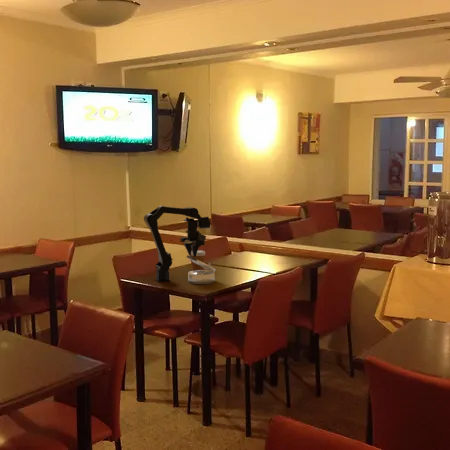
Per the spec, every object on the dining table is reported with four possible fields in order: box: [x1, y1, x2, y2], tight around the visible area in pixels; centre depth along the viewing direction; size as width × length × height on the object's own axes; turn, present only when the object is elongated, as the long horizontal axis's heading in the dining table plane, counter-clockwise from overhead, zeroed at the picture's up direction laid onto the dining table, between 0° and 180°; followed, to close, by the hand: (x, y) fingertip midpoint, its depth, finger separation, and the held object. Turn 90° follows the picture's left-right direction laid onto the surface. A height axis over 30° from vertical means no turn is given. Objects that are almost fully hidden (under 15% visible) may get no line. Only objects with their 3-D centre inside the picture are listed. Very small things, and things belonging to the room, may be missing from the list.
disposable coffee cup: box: [190, 249, 206, 271], centre depth 359 cm, size 10×10×12 cm
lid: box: [186, 254, 216, 273], centre depth 328 cm, size 18×15×3 cm
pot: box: [187, 269, 216, 285], centre depth 329 cm, size 15×15×5 cm
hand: (192, 255), depth 337 cm, fingers open, 5 cm apart
